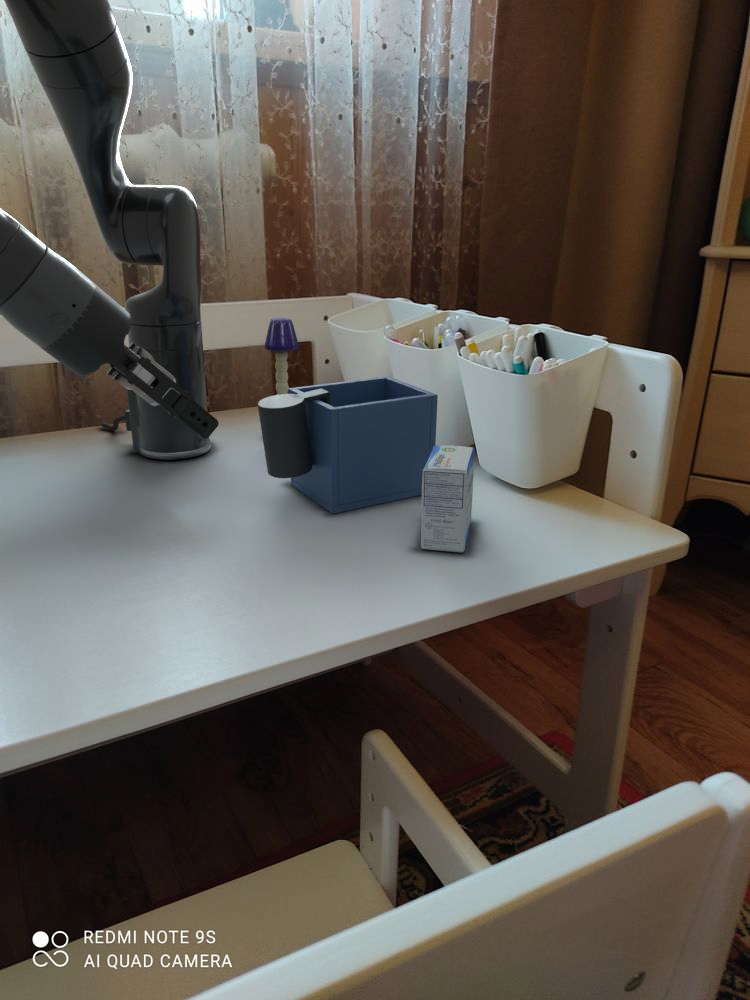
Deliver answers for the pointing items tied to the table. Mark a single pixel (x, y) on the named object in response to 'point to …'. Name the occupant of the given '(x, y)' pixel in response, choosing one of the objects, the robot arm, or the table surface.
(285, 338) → the toy lamp
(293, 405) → the mug
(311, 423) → the box
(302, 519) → the table surface
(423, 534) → the medicine box
